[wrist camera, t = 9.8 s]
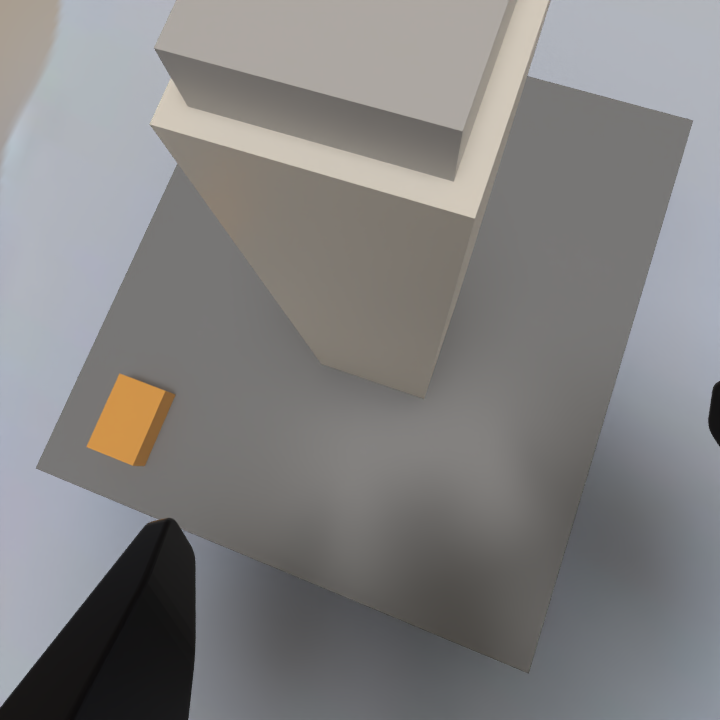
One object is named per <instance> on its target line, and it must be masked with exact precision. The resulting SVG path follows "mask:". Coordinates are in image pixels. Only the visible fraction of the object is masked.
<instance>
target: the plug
mask: <svg viewBox="0 0 720 720" xmlns="http://www.w3.org/2000/svg"><path fill="white" fill-rule="evenodd" d="M550 1H551V0H176V2H175V4H174V7H173V9H172V11H171V13H170V15H169V17H168V19H167V21H166V24H165V26H164V28H163V30H162V32H161V34H160V36H159V38H158V40H157V43H156V45H155V47H154V49H155V51H156V53H157V54H158V56H159V58H160V59H161V61H162V63H163V65H164V66H165V68H166V70H167V72H168V73H169V75H170V77H171V79H170V81H169V83H168V85H167V88H166V90H165V92H164V94H163V96H162V98H161V101H160V103H159V105H158V107H157V109H156V111H155V114H154V116H153V118H152V120H151V122H150V125H151V127H152V128H153V130H154V131H155V132H156V134H157V135H158V137H159V138H160V139H161V141H162V142H163V144H164V145H165V146H166V148H167V149H168V151H169V152H170V153H171V155H172V156H173V158H174V159H175V160H176V162H177V163H178V165H179V166H180V167H181V169H182V170H183V172H184V173H185V174H186V176H187V177H188V178H189V180H190V181H191V183H192V184H193V185H194V187H195V188H196V190H197V191H198V192H199V194H200V195H201V197H202V198H203V199H204V201H205V202H206V204H207V205H208V206H209V208H210V209H211V211H212V212H213V213H214V215H215V216H216V218H217V219H218V220H219V222H220V223H221V225H222V226H223V227H224V229H225V230H226V232H227V233H228V234H229V236H230V237H231V239H232V240H233V241H234V243H235V244H236V246H237V247H238V248H239V250H240V251H241V252H242V254H243V255H244V257H245V258H246V259H247V261H248V262H249V264H250V265H251V266H252V268H253V269H254V271H255V272H256V273H257V275H258V276H259V278H260V279H261V280H262V282H263V283H264V285H265V286H266V287H267V289H268V290H269V292H270V293H271V294H272V296H273V297H274V299H275V300H276V301H277V303H278V304H279V306H280V307H281V308H282V310H283V311H284V313H285V314H286V315H287V317H288V318H289V319H290V321H291V322H292V324H293V325H294V326H295V328H296V329H297V331H298V332H299V333H300V335H301V336H302V338H303V339H304V340H305V342H306V343H307V345H308V346H309V347H310V349H311V350H312V352H313V353H314V354H315V356H316V357H317V359H318V360H319V361H320V363H321V364H323V365H326V366H329V367H332V368H334V369H337V370H340V371H343V372H346V373H349V374H352V375H355V376H358V377H361V378H364V379H367V380H370V381H373V382H376V383H379V384H382V385H385V386H388V387H391V388H394V389H397V390H399V391H402V392H405V393H408V394H411V395H414V396H417V397H420V398H423V399H424V397H425V394H426V391H427V388H428V385H429V382H430V379H431V376H432V373H433V370H434V367H435V365H436V362H437V359H438V356H439V353H440V350H441V347H442V344H443V341H444V338H445V335H446V332H447V329H448V326H449V323H450V320H451V317H452V314H453V311H454V308H455V305H456V302H457V299H458V296H459V293H460V289H461V286H462V283H463V280H464V277H465V273H466V270H467V267H468V264H469V261H470V257H471V254H472V251H473V248H474V245H475V241H476V238H477V235H478V232H479V229H480V225H481V222H482V219H483V216H484V213H485V209H486V206H487V203H488V200H489V197H490V193H491V190H492V187H493V184H494V181H495V177H496V174H497V171H498V168H499V165H500V161H501V158H502V155H503V152H504V149H505V145H506V142H507V139H508V136H509V133H510V129H511V126H512V123H513V120H514V117H515V113H516V110H517V107H518V104H519V101H520V97H521V94H522V91H523V88H524V85H525V81H526V78H527V75H528V72H529V69H530V65H531V62H532V59H533V56H534V53H535V49H536V46H537V43H538V40H539V37H540V33H541V30H542V27H543V24H544V21H545V17H546V14H547V11H548V8H549V5H550Z"/></svg>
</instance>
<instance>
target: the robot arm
mask: <svg viewBox="0 0 720 720" xmlns="http://www.w3.org/2000/svg"><path fill="white" fill-rule="evenodd" d="M708 424H709V429H710V431H711V434H712V436H713V437H714V439H715V440H716V442H717V443H718V445H719V446H720V381H719V382H717V383H716V384H715V385H714V387H713V391H712V397H711V404H710V411H709V418H708ZM195 639H196V612H195V556H194V552H193V549H192V547H191V545H190V543H189V542H188V540H187V538H186V537H185V535H184V533H183V532H182V530H181V528H180V526H179V525H178V523H177V522H176V520H174V519H173V518H165V519H161V520H157V521H152V522H150V523H148V524H146V525H145V526H144V527H143V529H142V530H141V531H140V532H139V534H138V535H137V536H136V537H135V539H134V540H133V541H132V543H131V544H130V545H129V546H128V548H127V549H126V550H125V551H124V553H123V554H122V555H121V556H120V558H119V559H118V560H117V561H116V563H115V564H114V565H113V566H112V568H111V569H110V570H109V571H108V573H107V574H106V575H105V576H104V578H103V579H102V580H101V581H100V583H99V584H98V585H97V587H96V588H95V589H94V590H93V592H92V593H91V594H90V595H89V597H88V598H87V599H86V600H85V602H84V603H83V604H82V605H81V607H80V608H79V609H78V610H77V612H76V613H75V614H74V615H73V617H72V618H71V619H70V620H69V622H68V623H67V624H66V626H65V627H64V628H63V629H62V631H61V632H60V633H59V634H58V636H57V637H56V638H55V639H54V641H53V642H52V643H51V644H50V646H49V647H48V648H47V649H46V651H45V652H44V653H43V654H42V656H41V657H40V658H39V659H38V661H37V662H36V663H35V664H34V666H33V667H32V668H31V670H30V671H29V672H28V673H27V675H26V676H25V677H24V678H23V680H22V681H21V682H20V683H19V685H18V686H17V687H16V688H15V690H14V691H13V692H12V693H11V695H10V696H9V697H8V698H7V700H6V701H5V702H4V703H3V705H2V706H1V707H0V720H188V718H189V708H190V699H191V690H192V681H193V671H194V661H195Z"/></svg>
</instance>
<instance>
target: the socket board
mask: <svg viewBox="0 0 720 720" xmlns="http://www.w3.org/2000/svg"><path fill="white" fill-rule="evenodd" d="M692 122H693V120H689V119H685V118H682V117H678V116H674V115H670V114H667V113H663V112H659V111H656V110H652V109H648V108H644V107H641V106H637V105H633V104H629V103H626V102H622V101H618V100H614V99H611V98H607V97H603V96H600V95H596V94H592V93H588V92H585V91H581V90H577V89H573V88H570V87H566V86H562V85H559V84H555V83H551V82H547V81H544V80H540V79H536V78H532V77H529V76H527V78H526V81H525V85H524V88H523V91H522V94H521V97H520V101H519V104H518V107H517V110H516V113H515V117H514V120H513V123H512V126H511V129H510V133H509V136H508V139H507V142H506V145H505V149H504V152H503V155H502V158H501V161H500V165H499V168H498V171H497V174H496V177H495V181H494V184H493V187H492V190H491V193H490V197H489V200H488V203H487V206H486V209H485V213H484V216H483V219H482V222H481V225H480V229H479V232H478V235H477V238H476V241H475V245H474V248H473V251H472V254H471V257H470V261H469V264H468V267H467V270H466V273H465V277H464V280H463V283H462V286H461V289H460V293H459V296H458V299H457V302H456V305H455V308H454V311H453V314H452V317H451V320H450V323H449V326H448V329H447V332H446V335H445V338H444V341H443V344H442V347H441V350H440V353H439V356H438V359H437V362H436V365H435V367H434V370H433V373H432V376H431V379H430V382H429V385H428V388H427V391H426V394H425V397H424V399H423V398H420V397H417V396H414V395H411V394H408V393H405V392H402V391H399V390H397V389H394V388H391V387H388V386H385V385H382V384H379V383H376V382H373V381H370V380H367V379H364V378H361V377H358V376H355V375H352V374H349V373H346V372H343V371H340V370H337V369H334V368H332V367H329V366H326V365H323V364H321V363H320V361H319V360H318V359H317V357H316V356H315V354H314V353H313V352H312V350H311V349H310V347H309V346H308V345H307V343H306V342H305V340H304V339H303V338H302V336H301V335H300V333H299V332H298V331H297V329H296V328H295V326H294V325H293V324H292V322H291V321H290V319H289V318H288V317H287V315H286V314H285V313H284V311H283V310H282V308H281V307H280V306H279V304H278V303H277V301H276V300H275V299H274V297H273V296H272V294H271V293H270V292H269V290H268V289H267V287H266V286H265V285H264V283H263V282H262V280H261V279H260V278H259V276H258V275H257V273H256V272H255V271H254V269H253V268H252V266H251V265H250V264H249V262H248V261H247V259H246V258H245V257H244V255H243V254H242V252H241V251H240V250H239V248H238V247H237V246H236V244H235V243H234V241H233V240H232V239H231V237H230V236H229V234H228V233H227V232H226V230H225V229H224V227H223V226H222V225H221V223H220V222H219V220H218V219H217V218H216V216H215V215H214V213H213V212H212V211H211V209H210V208H209V206H208V205H207V204H206V202H205V201H204V199H203V198H202V197H201V195H200V194H199V192H198V191H197V190H196V188H195V187H194V185H193V184H192V183H191V181H190V180H189V178H188V177H187V176H186V174H185V173H184V172H183V170H182V169H181V167H180V166H179V165H178V164H177V166H176V168H175V170H174V172H173V174H172V177H171V179H170V181H169V183H168V185H167V187H166V189H165V192H164V194H163V196H162V198H161V200H160V202H159V204H158V207H157V209H156V211H155V213H154V215H153V217H152V220H151V222H150V224H149V226H148V228H147V230H146V232H145V235H144V237H143V239H142V241H141V243H140V245H139V247H138V250H137V252H136V254H135V256H134V258H133V260H132V263H131V265H130V267H129V269H128V271H127V273H126V275H125V278H124V280H123V282H122V284H121V286H120V288H119V290H118V293H117V295H116V297H115V299H114V301H113V303H112V305H111V308H110V310H109V312H108V314H107V316H106V318H105V321H104V323H103V325H102V327H101V329H100V331H99V333H98V336H97V338H96V340H95V342H94V344H93V346H92V348H91V351H90V353H89V355H88V357H87V359H86V361H85V364H84V366H83V368H82V370H81V372H80V374H79V376H78V379H77V381H76V383H75V385H74V387H73V389H72V391H71V394H70V396H69V398H68V400H67V402H66V404H65V407H64V409H63V411H62V413H61V415H60V417H59V419H58V422H57V424H56V426H55V428H54V430H53V432H52V434H51V437H50V439H49V441H48V443H47V445H46V447H45V450H44V452H43V454H42V456H41V458H40V460H39V462H38V465H37V467H36V469H39V470H41V471H43V472H46V473H48V474H51V475H53V476H55V477H58V478H60V479H63V480H65V481H67V482H70V483H72V484H75V485H77V486H79V487H82V488H84V489H87V490H89V491H91V492H94V493H96V494H99V495H101V496H103V497H106V498H108V499H111V500H113V501H116V502H118V503H120V504H123V505H125V506H128V507H130V508H132V509H135V510H137V511H140V512H142V513H144V514H147V515H149V516H152V517H154V518H156V519H159V520H161V519H165V518H173V519H174V520H176V522H177V523H178V525H179V526H180V528H181V529H183V530H185V531H188V532H190V533H192V534H195V535H197V536H200V537H202V538H204V539H207V540H209V541H212V542H214V543H216V544H219V545H221V546H224V547H226V548H228V549H231V550H233V551H236V552H238V553H240V554H243V555H245V556H248V557H250V558H252V559H255V560H257V561H260V562H262V563H264V564H267V565H269V566H272V567H274V568H276V569H279V570H281V571H284V572H286V573H288V574H291V575H293V576H296V577H298V578H300V579H303V580H305V581H308V582H310V583H312V584H315V585H317V586H320V587H322V588H324V589H327V590H329V591H332V592H334V593H336V594H339V595H341V596H344V597H346V598H348V599H351V600H353V601H356V602H358V603H360V604H363V605H365V606H368V607H370V608H372V609H375V610H377V611H380V612H382V613H384V614H387V615H389V616H392V617H394V618H397V619H399V620H401V621H404V622H406V623H409V624H411V625H413V626H416V627H418V628H421V629H423V630H425V631H428V632H430V633H433V634H435V635H437V636H440V637H442V638H445V639H447V640H449V641H452V642H454V643H457V644H459V645H461V646H464V647H466V648H469V649H471V650H473V651H476V652H478V653H481V654H483V655H485V656H488V657H490V658H493V659H495V660H497V661H500V662H502V663H505V664H507V665H509V666H512V667H514V668H517V669H519V670H521V671H524V672H526V673H529V671H530V667H531V664H532V661H533V657H534V654H535V650H536V647H537V644H538V640H539V637H540V634H541V630H542V627H543V624H544V620H545V617H546V613H547V610H548V607H549V603H550V600H551V597H552V593H553V590H554V587H555V583H556V580H557V576H558V573H559V570H560V566H561V563H562V560H563V556H564V553H565V550H566V546H567V543H568V539H569V536H570V533H571V529H572V526H573V523H574V519H575V516H576V513H577V509H578V506H579V502H580V499H581V496H582V492H583V489H584V486H585V482H586V479H587V476H588V472H589V469H590V465H591V462H592V459H593V455H594V452H595V449H596V445H597V442H598V439H599V435H600V432H601V428H602V425H603V422H604V418H605V415H606V412H607V408H608V405H609V402H610V398H611V395H612V391H613V388H614V385H615V381H616V378H617V375H618V371H619V368H620V365H621V361H622V358H623V354H624V351H625V348H626V344H627V341H628V338H629V334H630V331H631V328H632V324H633V321H634V317H635V314H636V311H637V307H638V304H639V301H640V297H641V294H642V291H643V287H644V284H645V280H646V277H647V274H648V270H649V267H650V264H651V260H652V257H653V254H654V250H655V247H656V243H657V240H658V237H659V233H660V230H661V227H662V223H663V220H664V217H665V213H666V210H667V206H668V203H669V200H670V196H671V193H672V190H673V186H674V183H675V180H676V176H677V173H678V169H679V166H680V163H681V159H682V156H683V153H684V149H685V146H686V143H687V139H688V136H689V133H690V129H691V126H692Z"/></svg>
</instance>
